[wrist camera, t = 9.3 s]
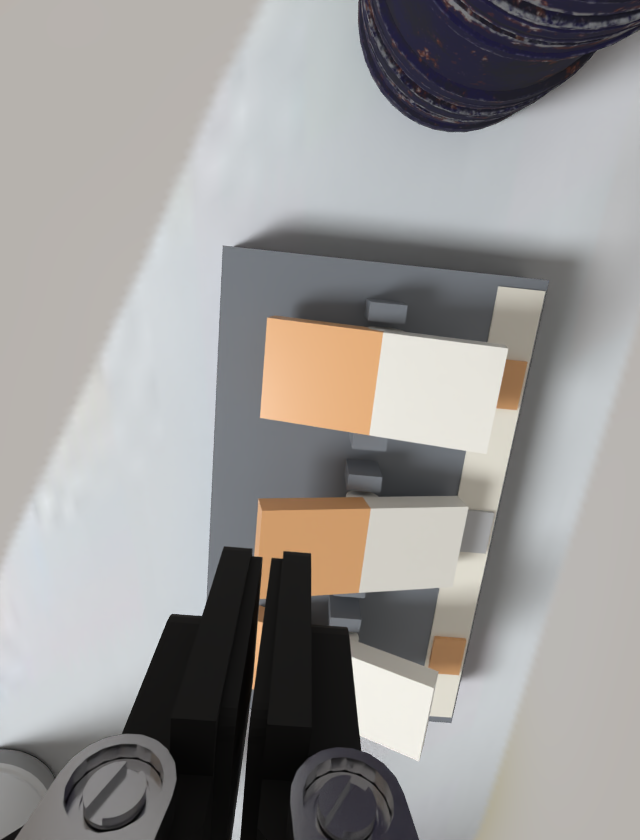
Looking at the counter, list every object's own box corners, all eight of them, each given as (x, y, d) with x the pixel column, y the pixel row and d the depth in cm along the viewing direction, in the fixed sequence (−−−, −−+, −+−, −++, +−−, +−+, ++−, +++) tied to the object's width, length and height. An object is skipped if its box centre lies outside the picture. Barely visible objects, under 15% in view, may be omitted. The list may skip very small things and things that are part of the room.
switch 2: (435, 564, 29) (452, 586, 27) (250, 574, 26) (255, 599, 24) (449, 488, 27) (468, 506, 25) (256, 491, 25) (262, 510, 23)
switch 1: (482, 439, 24) (486, 454, 22) (272, 406, 26) (259, 417, 24) (502, 341, 23) (508, 348, 21) (279, 313, 25) (267, 317, 23)
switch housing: (439, 684, 35) (460, 752, 30) (211, 667, 34) (194, 734, 29) (524, 277, 27) (569, 282, 22) (232, 246, 27) (215, 244, 22)
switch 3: (427, 730, 28) (418, 761, 26) (261, 662, 31) (243, 685, 30) (441, 661, 27) (433, 688, 25) (266, 597, 30) (248, 617, 28)
